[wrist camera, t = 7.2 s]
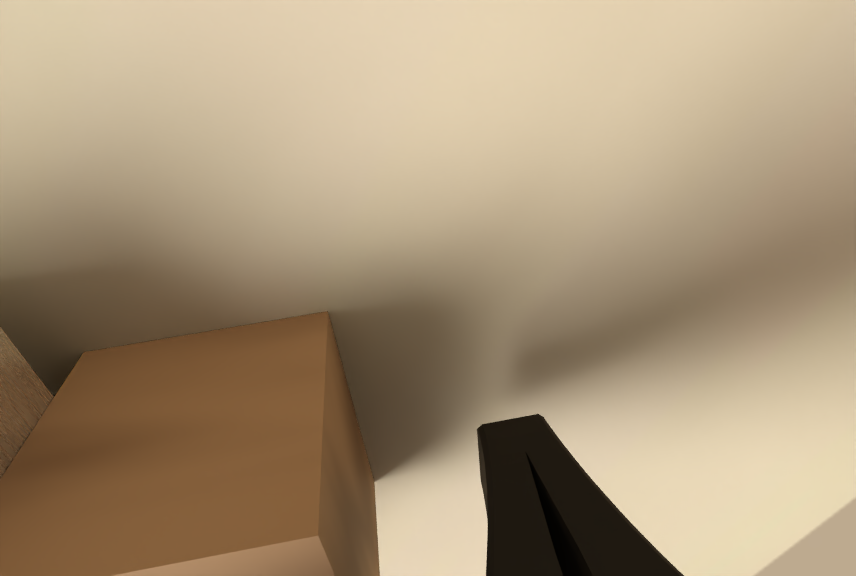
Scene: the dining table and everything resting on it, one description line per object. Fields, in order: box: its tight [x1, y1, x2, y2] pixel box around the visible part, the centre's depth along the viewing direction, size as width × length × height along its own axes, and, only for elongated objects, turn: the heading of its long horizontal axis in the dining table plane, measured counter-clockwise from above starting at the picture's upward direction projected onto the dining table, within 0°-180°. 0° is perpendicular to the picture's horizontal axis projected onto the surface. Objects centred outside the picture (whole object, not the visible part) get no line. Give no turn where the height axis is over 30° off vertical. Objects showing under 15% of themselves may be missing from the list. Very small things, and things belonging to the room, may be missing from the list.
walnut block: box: [0, 311, 380, 576], centre depth 10 cm, size 6×5×5 cm
